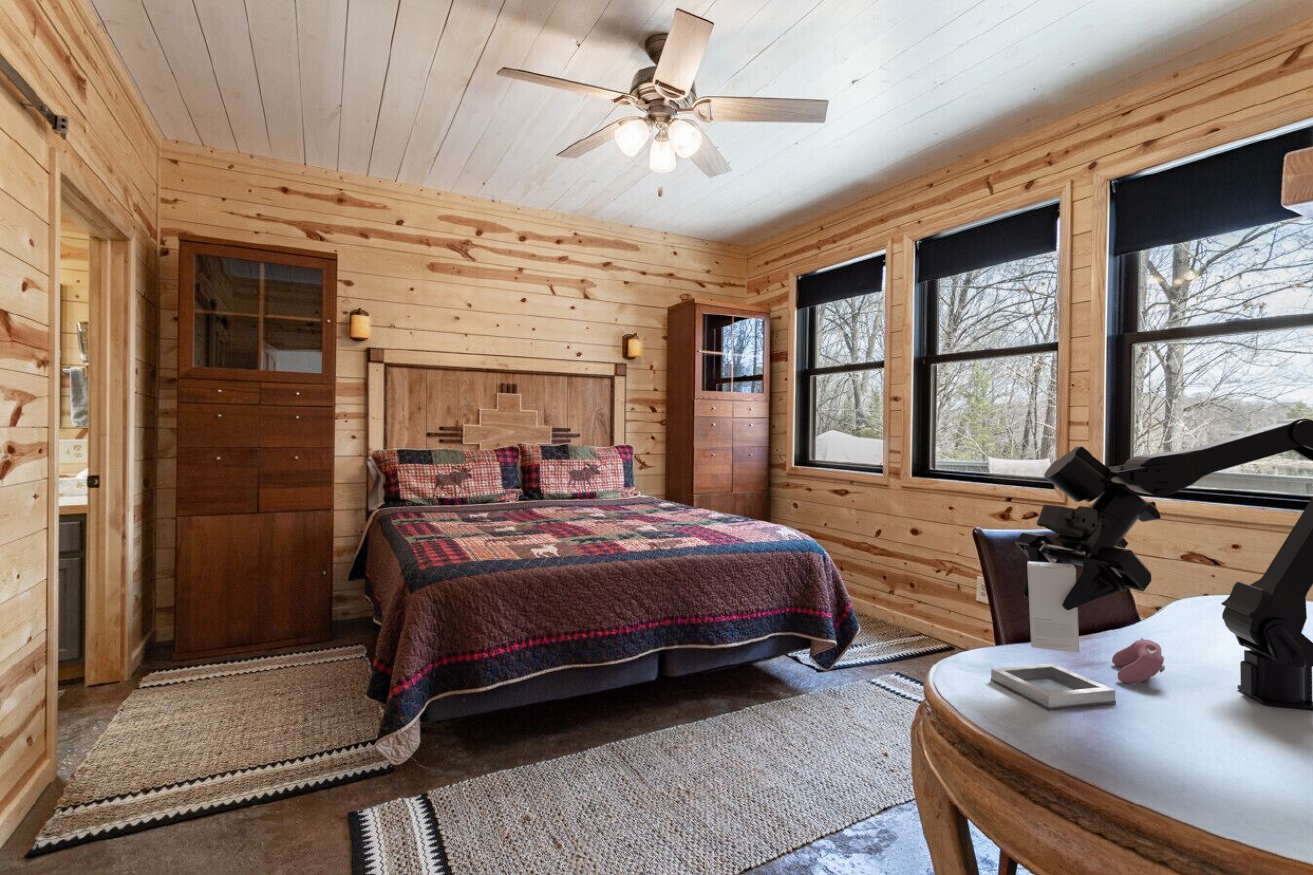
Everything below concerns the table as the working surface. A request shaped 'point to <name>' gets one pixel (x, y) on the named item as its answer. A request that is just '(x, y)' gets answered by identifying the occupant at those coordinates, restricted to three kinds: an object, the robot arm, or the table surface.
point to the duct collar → (1053, 686)
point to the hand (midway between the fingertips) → (1044, 601)
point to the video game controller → (1139, 661)
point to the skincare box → (1052, 606)
